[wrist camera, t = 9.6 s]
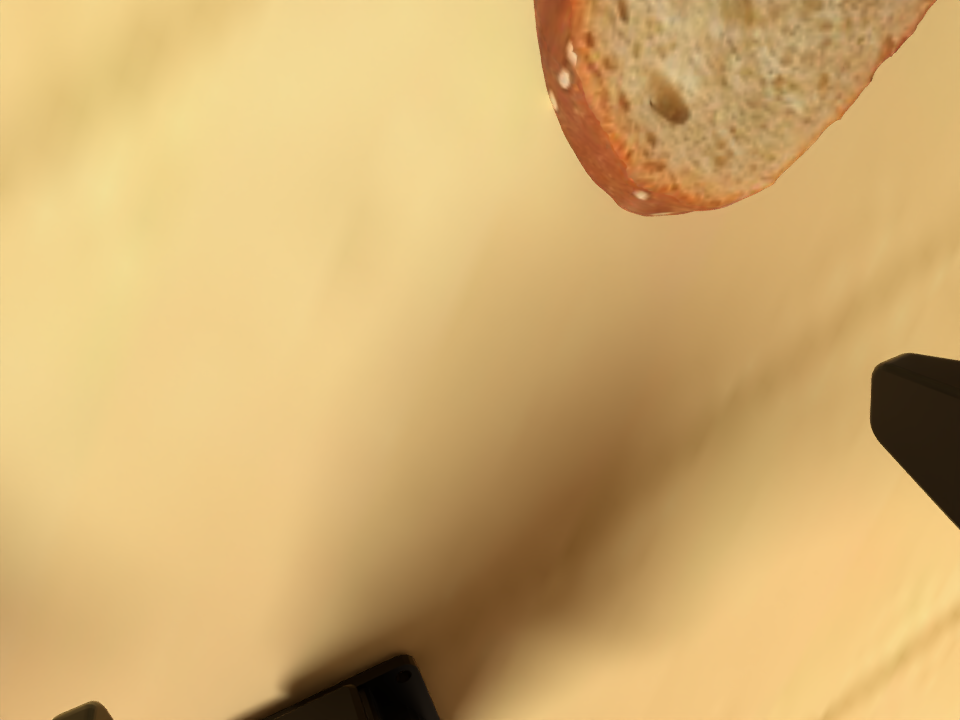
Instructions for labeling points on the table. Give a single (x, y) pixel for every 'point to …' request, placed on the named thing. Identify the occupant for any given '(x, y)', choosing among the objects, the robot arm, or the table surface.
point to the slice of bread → (707, 88)
